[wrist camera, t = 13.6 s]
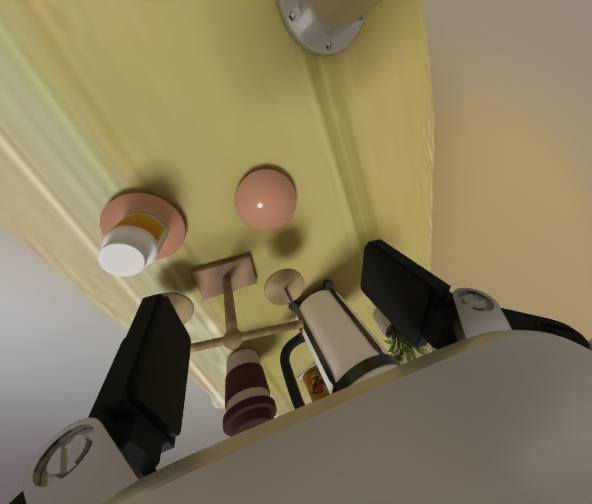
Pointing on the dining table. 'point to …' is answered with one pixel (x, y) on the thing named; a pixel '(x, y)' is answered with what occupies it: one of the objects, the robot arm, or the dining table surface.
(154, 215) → the supplement bottle
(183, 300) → the balance
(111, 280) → the dining table surface
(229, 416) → the coffee cup
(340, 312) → the coffee press
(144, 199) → the tan flat disc
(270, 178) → the pink disc
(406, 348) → the house plant
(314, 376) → the condiment
